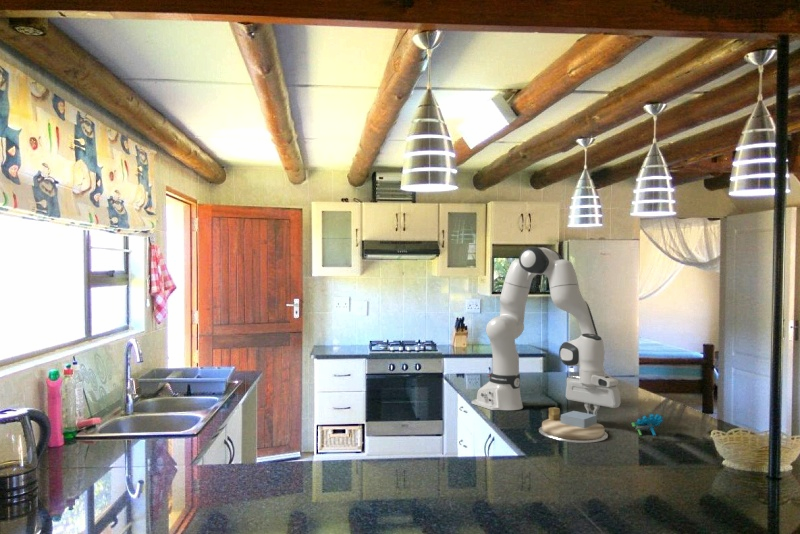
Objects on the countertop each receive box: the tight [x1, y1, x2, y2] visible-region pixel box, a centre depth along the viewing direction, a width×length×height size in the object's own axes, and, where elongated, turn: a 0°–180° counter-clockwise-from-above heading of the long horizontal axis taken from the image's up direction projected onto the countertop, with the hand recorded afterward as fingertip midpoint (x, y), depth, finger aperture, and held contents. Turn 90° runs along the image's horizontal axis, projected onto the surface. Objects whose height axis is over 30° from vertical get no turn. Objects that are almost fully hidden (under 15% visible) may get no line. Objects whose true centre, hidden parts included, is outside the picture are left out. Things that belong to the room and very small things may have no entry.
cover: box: [560, 410, 598, 428], centre depth 189 cm, size 9×9×3 cm
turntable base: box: [538, 426, 609, 444], centre depth 187 cm, size 23×23×1 cm
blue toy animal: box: [631, 413, 664, 437], centre depth 185 cm, size 11×6×10 cm
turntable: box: [541, 407, 606, 440], centre depth 187 cm, size 21×21×6 cm
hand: (592, 415), depth 196 cm, fingers closed
